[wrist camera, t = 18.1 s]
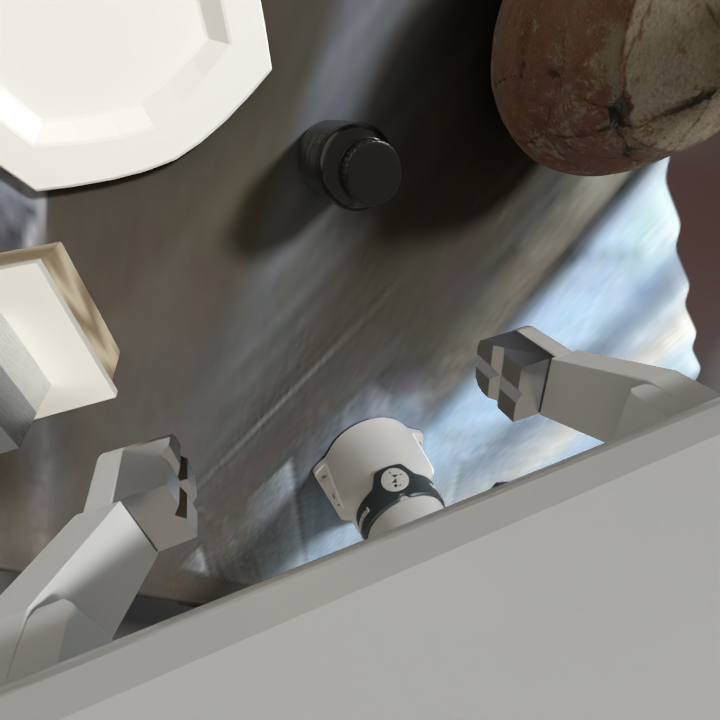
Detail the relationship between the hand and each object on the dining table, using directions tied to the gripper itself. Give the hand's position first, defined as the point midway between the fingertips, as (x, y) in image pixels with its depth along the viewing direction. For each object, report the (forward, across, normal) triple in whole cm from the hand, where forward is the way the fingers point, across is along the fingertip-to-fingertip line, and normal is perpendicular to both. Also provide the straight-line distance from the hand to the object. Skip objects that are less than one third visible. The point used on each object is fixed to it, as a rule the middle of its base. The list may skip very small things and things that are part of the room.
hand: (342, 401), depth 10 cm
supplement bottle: (+35, -10, -1) cm, 37 cm away
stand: (+35, +22, +8) cm, 42 cm away
